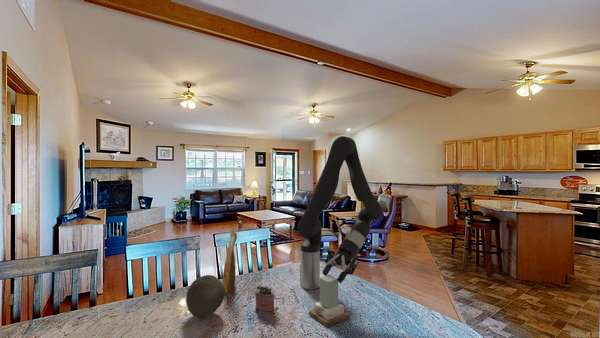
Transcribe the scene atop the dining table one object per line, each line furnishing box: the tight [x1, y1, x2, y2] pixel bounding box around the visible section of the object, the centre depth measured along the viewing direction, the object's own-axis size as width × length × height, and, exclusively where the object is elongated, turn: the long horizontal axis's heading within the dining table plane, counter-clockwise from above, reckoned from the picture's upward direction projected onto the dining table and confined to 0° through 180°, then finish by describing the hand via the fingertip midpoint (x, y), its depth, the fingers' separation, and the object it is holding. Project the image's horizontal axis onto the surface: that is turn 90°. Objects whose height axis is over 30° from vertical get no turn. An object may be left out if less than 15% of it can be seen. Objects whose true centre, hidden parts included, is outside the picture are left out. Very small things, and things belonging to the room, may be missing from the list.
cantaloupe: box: [185, 274, 226, 319], centre depth 111 cm, size 14×14×15 cm
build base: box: [308, 301, 350, 328], centre depth 110 cm, size 11×11×4 cm
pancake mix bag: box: [222, 225, 238, 295], centre depth 138 cm, size 7×19×28 cm, turn 12°
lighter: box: [254, 285, 275, 315], centre depth 114 cm, size 8×3×10 cm, turn 71°
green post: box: [319, 274, 339, 309], centre depth 110 cm, size 5×5×10 cm
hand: (331, 278), depth 111 cm, fingers open, 8 cm apart
